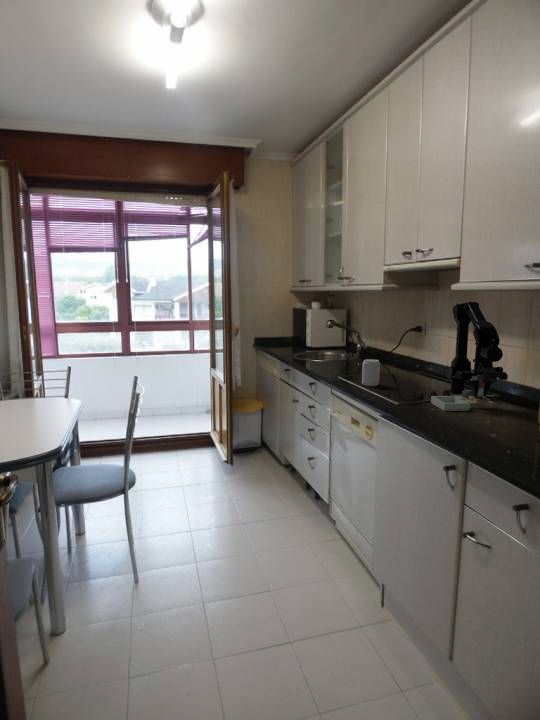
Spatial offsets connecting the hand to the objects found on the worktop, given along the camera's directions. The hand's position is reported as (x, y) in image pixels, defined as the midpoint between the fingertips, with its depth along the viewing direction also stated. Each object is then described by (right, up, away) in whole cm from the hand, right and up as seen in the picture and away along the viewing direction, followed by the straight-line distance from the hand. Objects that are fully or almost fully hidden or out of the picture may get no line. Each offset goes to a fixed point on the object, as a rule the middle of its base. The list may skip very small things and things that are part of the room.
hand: (479, 396), depth 179 cm
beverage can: (-35, +2, +38) cm, 52 cm away
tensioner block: (0, -3, +5) cm, 6 cm away
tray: (-12, -4, 0) cm, 13 cm away
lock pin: (0, -2, 0) cm, 2 cm away
